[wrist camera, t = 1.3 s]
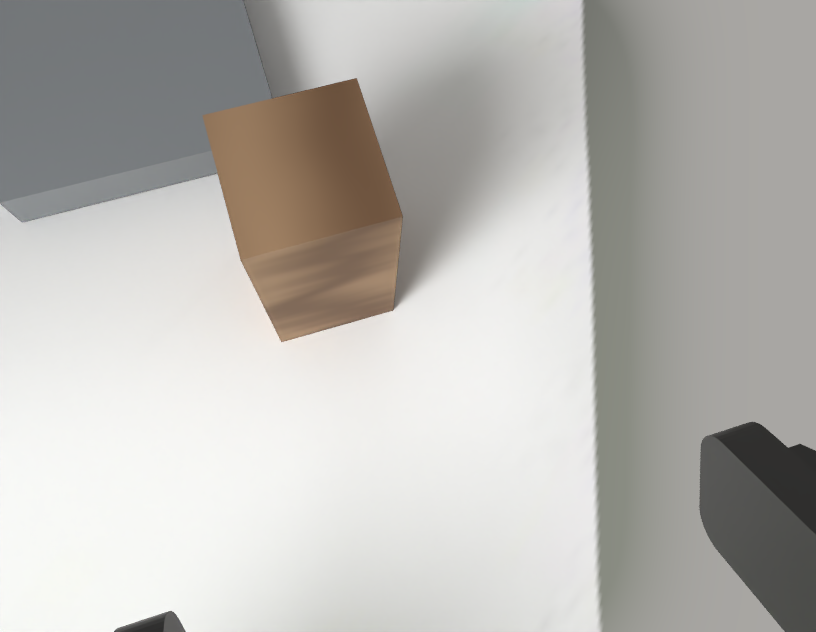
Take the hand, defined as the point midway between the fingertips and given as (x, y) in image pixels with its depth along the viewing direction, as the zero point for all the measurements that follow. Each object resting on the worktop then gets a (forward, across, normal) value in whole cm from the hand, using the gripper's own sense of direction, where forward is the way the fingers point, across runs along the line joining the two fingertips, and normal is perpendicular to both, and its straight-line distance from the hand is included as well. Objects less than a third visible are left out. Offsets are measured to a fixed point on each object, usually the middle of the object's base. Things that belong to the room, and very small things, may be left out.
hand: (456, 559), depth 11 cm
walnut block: (+22, 0, +5) cm, 22 cm away
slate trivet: (+30, +6, -4) cm, 31 cm away
